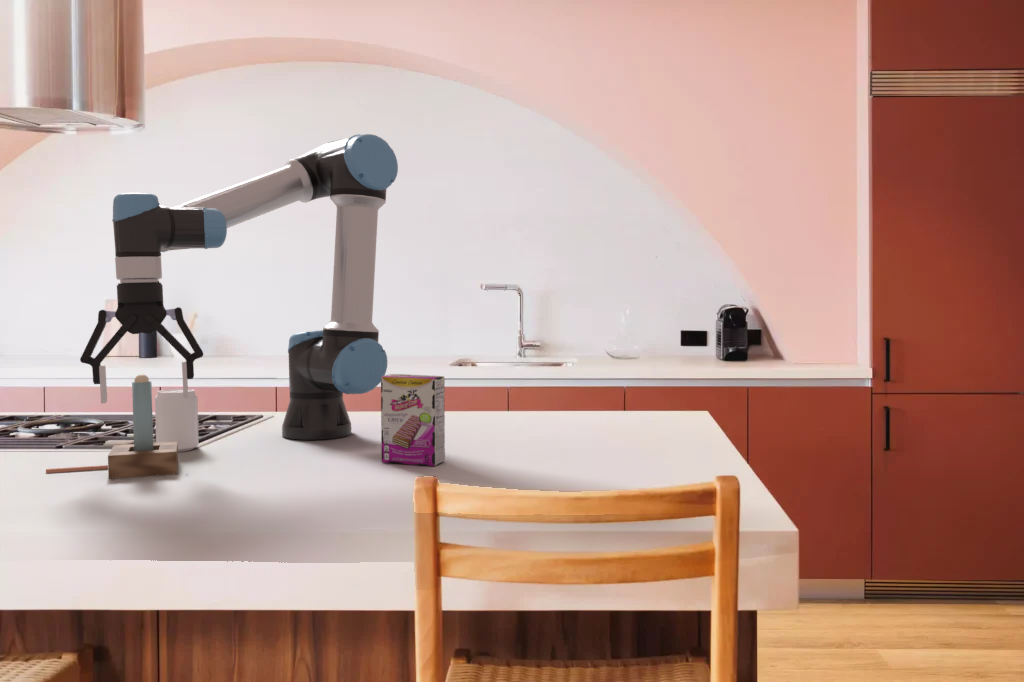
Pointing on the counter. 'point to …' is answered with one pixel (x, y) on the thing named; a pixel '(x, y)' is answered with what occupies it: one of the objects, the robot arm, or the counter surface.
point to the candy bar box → (413, 419)
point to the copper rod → (76, 469)
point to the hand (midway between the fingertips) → (145, 400)
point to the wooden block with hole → (143, 460)
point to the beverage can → (177, 418)
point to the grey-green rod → (142, 413)
